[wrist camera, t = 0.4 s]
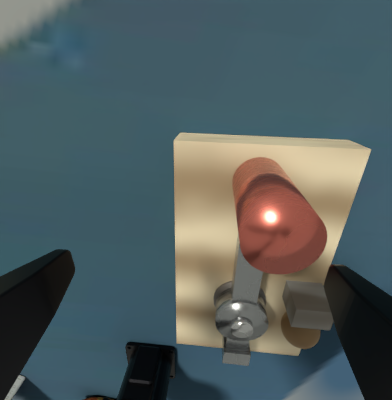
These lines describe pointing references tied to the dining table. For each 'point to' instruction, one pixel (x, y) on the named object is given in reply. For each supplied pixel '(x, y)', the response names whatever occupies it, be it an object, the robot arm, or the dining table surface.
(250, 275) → the lever
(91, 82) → the dining table surface
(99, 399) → the croissant
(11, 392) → the supplement box
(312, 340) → the walnut
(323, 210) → the block
